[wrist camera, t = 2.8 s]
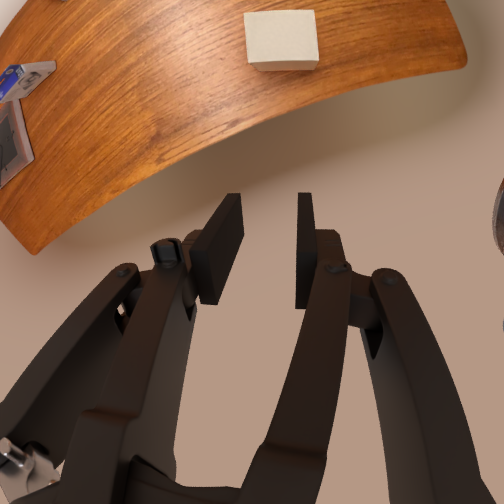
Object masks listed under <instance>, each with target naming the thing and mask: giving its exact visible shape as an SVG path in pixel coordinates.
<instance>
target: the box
mask: <svg viewBox="0 0 504 504" xmlns="http://www.w3.org/2000/svg"><path fill="white" fill-rule="evenodd" d="M244 24H245V35H246V46H247V57H248V63H249V64H250V65H252V66H253V67H254V68H256V69H257V70H258V71H260V72H264V71H286V70H314V69H315V67H316V65H317V63H318V61H319V53H318V42H317V32H316V23H315V15H314V10H276V11H261V12H251V13H244Z"/></svg>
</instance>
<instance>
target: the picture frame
mask: <svg viewBox="0 0 504 504" xmlns="http://www.w3.org/2000/svg"><path fill="white" fill-rule="evenodd" d="M33 160H34V155H33V152H32V149H31V145H30V142H29V138H28V135H27V131H26V128H25V123H24V119H23V114H22V110H21V105H20V101H19V99H16V100H12V101H8V102H5V104H4V105H3V106H2V107H1V109H0V189H1V188H2V187H3V186H4V185H5V184H6V183H7V182H8V181H9V180H11V179H12V178H13V177H14V176H15V175H16V174H17V173H18V172H20V171H21V170H22V169H23V168H24V167H26V166H27V165H28V164H29V163H30V162H32V161H33Z"/></svg>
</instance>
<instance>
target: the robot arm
mask: <svg viewBox="0 0 504 504" xmlns="http://www.w3.org/2000/svg"><path fill="white" fill-rule="evenodd" d="M243 237H244V227H243V216H242V206H241V196H240V193H231V194H230V193H229V194H227V195H226V197H225V198H224V199H223V201H222V202H221V204H220V205H219V207H218V208H217V209H216V211H215V212H214V214H213V215H212V217H211V218H210V219H209V221H208V222H207V224H206V225H205V227H204V228H203V230H194V231H192V232H191V233H189V234H188V235H187V236H186V237H185V239H184V241H183V242H182V243H181V241H180V240H179V239H176V238H166V239H162V240H159V241H157V242H155V243H154V244H152V245H151V247H150V248H151V252H152V256H153V259H154V262H155V265H154V267H153V269H152V270H147V271H141V272H139V270H138V267H137V265H136V264H134V263H124V264H120V265H119V266H117V267H115V268H114V269H113V270H112V271H111V272H110V273H109V274H108V275H107V276H106V277H105V278H104V279H103V280H102V281H101V282H100V283H99V284H98V285H97V286H96V287H95V288H94V289H93V291H92V292H91V293H90V294H89V295H88V296H87V297H86V298H85V299H84V300H83V301H82V302H81V303H80V305H79V306H78V307H77V308H76V309H75V310H74V311H73V312H72V313H71V315H70V316H69V317H68V318H67V319H66V320H65V321H64V323H63V324H62V325H61V326H60V327H59V328H58V330H57V331H56V332H55V333H54V334H53V336H52V337H51V338H50V339H49V340H48V341H47V343H46V344H45V345H44V346H43V348H42V349H41V350H40V351H39V353H38V354H37V355H36V356H35V358H34V359H33V360H32V362H31V363H30V364H29V365H28V367H27V368H26V369H25V371H24V372H23V373H22V375H21V376H20V377H19V379H18V380H17V382H16V383H15V384H14V386H13V387H12V389H11V390H10V392H9V393H8V394H7V396H6V397H5V399H4V400H3V401H2V402H1V403H0V486H1V488H2V490H3V492H4V494H5V496H6V498H7V500H8V502H9V504H315V502H316V499H317V496H318V492H319V489H320V486H321V482H322V479H323V475H324V470H325V467H326V461H327V449H328V444H329V440H330V436H331V431H332V427H333V422H334V416H335V411H336V406H337V400H338V395H339V389H340V383H341V377H342V369H343V363H344V355H345V347H346V338H347V329H348V325H350V326H354V327H358V328H360V333H361V337H362V341H363V345H364V349H365V353H366V357H367V361H368V366H369V370H370V375H371V379H372V384H373V389H374V394H375V399H376V404H377V410H378V415H379V421H380V427H381V433H382V440H383V446H384V453H385V462H386V470H387V479H388V490H389V500H390V504H496V502H495V501H494V499H493V497H492V496H491V494H490V492H489V490H488V489H487V487H486V485H485V484H484V482H483V481H482V479H481V476H480V471H479V466H478V461H477V457H476V453H475V448H474V444H473V441H472V437H471V433H470V430H469V426H468V423H467V420H466V416H465V413H464V410H463V407H462V404H461V401H460V398H459V395H458V392H457V390H456V387H455V384H454V382H453V379H452V377H451V374H450V371H449V369H448V366H447V364H446V361H445V359H444V357H443V354H442V352H441V350H440V347H439V345H438V343H437V341H436V338H435V336H434V334H433V332H432V330H431V328H430V325H429V324H428V321H427V319H426V317H425V315H424V313H423V311H422V309H421V307H420V305H419V303H418V301H417V300H416V298H415V296H414V294H413V292H412V290H411V288H410V286H409V285H408V283H407V281H406V279H405V278H404V277H403V275H402V274H401V273H399V272H398V271H396V270H393V269H389V268H381V269H377V270H375V271H374V272H373V274H372V276H371V277H370V276H364V275H361V274H358V273H356V272H354V271H352V268H351V265H350V264H349V263H348V262H347V261H346V259H345V255H344V251H343V246H342V242H341V239H340V235H339V234H338V233H337V232H336V231H335V230H327V229H325V230H324V229H315V221H314V212H313V203H312V195H311V193H298V218H297V250H296V303H295V309H306V311H305V315H304V319H303V322H302V326H301V330H300V333H299V337H298V340H297V344H296V347H295V350H294V354H293V357H292V360H291V364H290V367H289V370H288V373H287V377H286V380H285V383H284V386H283V389H282V392H281V395H280V398H279V401H278V404H277V407H276V410H275V413H274V416H273V418H272V421H271V424H270V427H269V430H268V432H267V435H266V438H265V440H264V442H263V443H262V444H261V445H260V446H259V448H258V449H257V451H256V454H255V456H254V458H253V460H252V463H251V465H250V467H249V470H248V472H247V475H246V477H245V479H244V482H243V484H242V486H241V488H233V487H228V486H225V487H186V486H182V485H180V484H178V483H176V482H175V478H176V460H175V457H174V451H173V448H174V440H175V433H176V426H177V420H178V413H179V407H180V400H181V394H182V388H183V382H184V377H185V371H186V365H187V359H188V354H189V349H190V343H191V338H192V333H193V328H194V323H195V317H196V313H197V306H196V302H195V300H196V298H197V296H198V295H199V299H200V302H201V304H207V305H218V302H219V299H220V297H221V294H222V291H223V289H224V286H225V283H226V281H227V278H228V276H229V273H230V270H231V268H232V265H233V263H234V260H235V257H236V255H237V252H238V250H239V247H240V244H241V242H242V239H243ZM120 304H121V305H122V307H123V309H124V312H123V314H121V315H120V314H119V312H118V309H117V308H118V306H119V305H120ZM503 330H504V321H503ZM64 460H65V462H64V465H63V469H62V473H61V477H60V474H59V472H58V471H57V470H56V468H57V467H58V466H59V465H60V464H61V463H62V462H63V461H64ZM49 483H52V484H51V485H48V484H49Z"/></svg>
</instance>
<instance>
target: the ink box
mask: <svg viewBox="0 0 504 504" xmlns="http://www.w3.org/2000/svg"><path fill="white" fill-rule="evenodd" d="M55 70H56V63H55V61H45V62H36V63H29V64H16V65H9V66H8V67H7V68H6V70H5V71H4V72H3V73H2V75H1V76H0V82H1V81H2V79H3V78H5V79H4V81H3V82H2V83H1V84H0V104H1V103H4V102H8V101H12V100H16V99H20V98H24V97H27V96H28V95H29V94H30V93H31V92H32V91H33V90H34V89H35V88H36V87H37V86H38V85H39V84H40V83H41V82H42V81H43V80H44V79H45V78H47V77H48V76H49V75H50V74H51V73H52V72H53V71H55Z"/></svg>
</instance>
